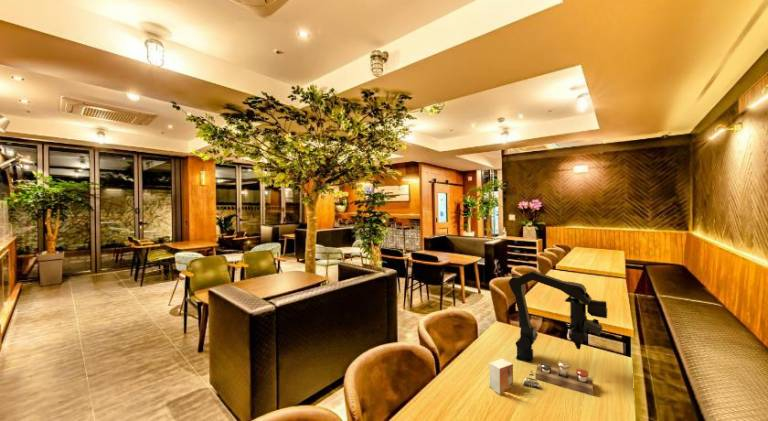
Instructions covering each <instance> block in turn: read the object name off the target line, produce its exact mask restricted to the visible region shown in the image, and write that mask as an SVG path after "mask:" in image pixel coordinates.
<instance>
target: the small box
mask: <svg viewBox="0 0 768 421" xmlns="http://www.w3.org/2000/svg"><path fill="white" fill-rule="evenodd" d="M513 367H514V363H512V362H510V361H508V360H506V359H504V358H500V359H496V360H494V361H491V362H488V368H489V369H488V370H489V371H488V376H489V378H488V379H489V380H488V382H489V383H488V384H489V387H488V388H489V389H491V390H492V391H494V392H495V393H497V394H498V395H502V394H504V393H507V391H506V390H508V389H510V388H512V387H514V368H513Z"/></svg>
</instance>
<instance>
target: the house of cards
mask: <svg viewBox="0 0 768 421" xmlns="http://www.w3.org/2000/svg"><path fill="white" fill-rule="evenodd" d="M534 375H535V373H534V372H533V370H530V371H529V373H528V376H529V377H528V376H526V377H525V379H523V381H522V382H521V383H522V386H523V385H524V386H527V387H530V388H533V387H534V388H535V389H538V388H539V389H540V390H541V389H542V388H541V385H540V383H539V382H538V380H536V379H535V378H533V377H534ZM530 376H532V377H530Z"/></svg>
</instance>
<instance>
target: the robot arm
mask: <svg viewBox="0 0 768 421" xmlns="http://www.w3.org/2000/svg"><path fill="white" fill-rule="evenodd" d="M531 281H534V282H537V283H540V284H543V285H545V286H549V287H551V288H553V289H557V290H559V291H561V292H563V293H564V294H566V295H567V296H568V297H567V298H565V300H564V302H566V303H569V308H570V309H569V310H570V312H569V313H570V314H569V320H570V325H569V327H570V330H568V339H570V340H572V341H573V343H574V346H575V348H576V349H577V350H580V349H581V346H582V342H587V340H588V338H587V336H588V334H587V331H589V332H591V333H594V334H595V335H596V336H600V335H601V333H602V331H603V326H602V324H601V323H599V321H600V320H598V319H596V318H601V319H607V320H608V307H607V306H608V303H607V301H605V300H596V299H593V298H592V297H591V296H590V294H589V293H588V292H587V287H586V286H585V284H582V283H579V282H576V281H575V282H573V281H566V280H561V279H559V278H555V277H552V276H550V275H547V274H544V273H542V272H538V271H536V270H530V271H529V272H527V273H524V274H522V275H518V274H516V275H515V276H513V277H512V278H510V279H509V281H508V285H509V287H510V290H511V292H512V293H513V296H514V298H515V304H516V307H517V313H518V317H519V322H520V332H519V335H520V336H519V337H518V339H517V340H516V342H515V346H516V357H515V359H516V360H519V361H523V362H527V363H532V361H533V359H534V349H533V344H534V343H535V342H536V341H537V339H538V336H539V334H538V332H537V327H536V326H533V324H532V323H531V318H530V314H529V309H528V304H527V301H526V296H525V292H526V284H528V283H529V282H531ZM587 313H588V314H589V315H590V317H596V318H593V319H588V316H587Z"/></svg>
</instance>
